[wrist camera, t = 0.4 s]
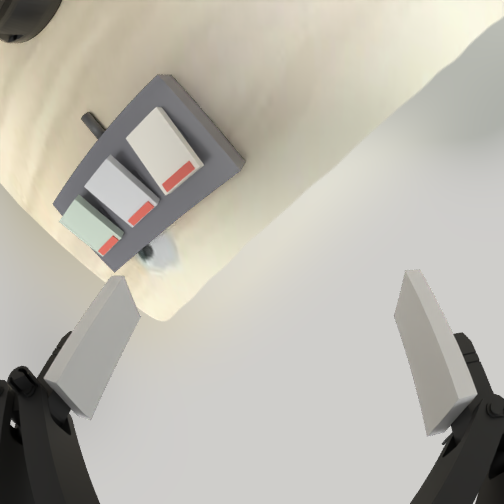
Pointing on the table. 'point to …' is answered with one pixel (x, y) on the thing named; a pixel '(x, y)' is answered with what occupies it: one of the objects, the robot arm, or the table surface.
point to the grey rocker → (121, 191)
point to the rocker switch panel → (115, 143)
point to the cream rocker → (164, 150)
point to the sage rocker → (91, 226)
